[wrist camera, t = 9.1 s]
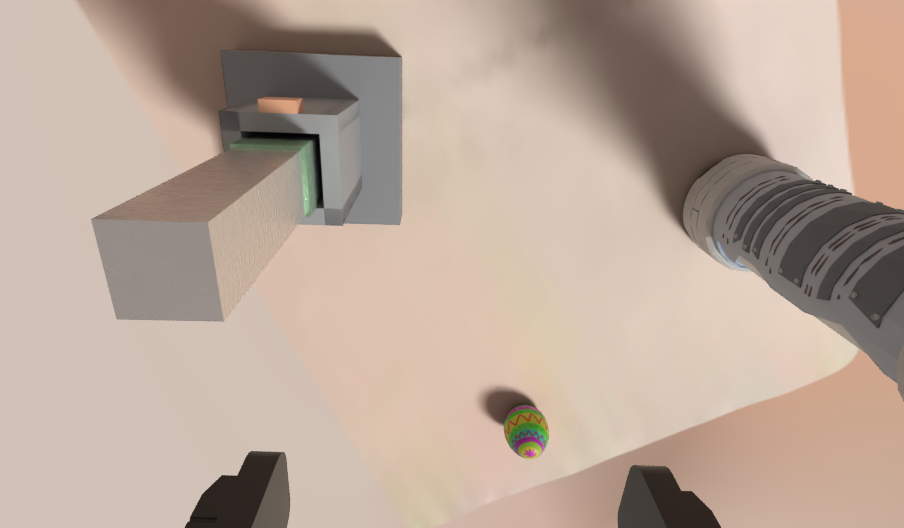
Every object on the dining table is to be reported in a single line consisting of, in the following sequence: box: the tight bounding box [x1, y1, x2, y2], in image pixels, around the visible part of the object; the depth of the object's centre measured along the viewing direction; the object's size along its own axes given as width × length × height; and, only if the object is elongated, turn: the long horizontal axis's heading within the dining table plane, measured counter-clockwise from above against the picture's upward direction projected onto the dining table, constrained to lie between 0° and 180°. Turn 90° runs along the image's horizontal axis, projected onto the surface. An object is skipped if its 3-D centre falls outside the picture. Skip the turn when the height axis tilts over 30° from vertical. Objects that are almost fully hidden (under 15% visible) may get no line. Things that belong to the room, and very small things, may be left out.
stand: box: [219, 50, 402, 226], centre depth 39 cm, size 14×14×13 cm
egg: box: [504, 405, 549, 459], centre depth 56 cm, size 5×5×6 cm
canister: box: [683, 154, 904, 401], centre depth 35 cm, size 10×10×30 cm
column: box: [91, 132, 323, 321], centre depth 28 cm, size 4×4×20 cm
